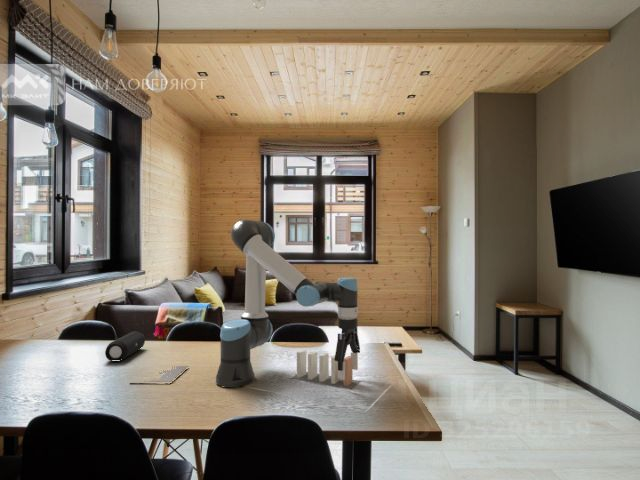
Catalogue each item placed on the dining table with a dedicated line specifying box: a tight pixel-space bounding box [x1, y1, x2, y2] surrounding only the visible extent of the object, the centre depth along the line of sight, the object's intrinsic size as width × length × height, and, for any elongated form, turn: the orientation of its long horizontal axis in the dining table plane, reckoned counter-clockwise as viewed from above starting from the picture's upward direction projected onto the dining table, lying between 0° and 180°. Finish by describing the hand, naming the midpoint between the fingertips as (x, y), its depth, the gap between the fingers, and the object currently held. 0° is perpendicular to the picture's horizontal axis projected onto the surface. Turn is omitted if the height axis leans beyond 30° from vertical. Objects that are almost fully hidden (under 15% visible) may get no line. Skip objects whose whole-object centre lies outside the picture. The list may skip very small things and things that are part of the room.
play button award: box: [144, 365, 189, 382], centre depth 160 cm, size 16×2×20 cm
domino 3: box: [318, 352, 330, 382], centre depth 154 cm, size 2×5×10 cm, turn 152°
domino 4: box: [330, 355, 340, 384], centre depth 151 cm, size 2×5×10 cm, turn 152°
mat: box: [290, 371, 362, 391], centre depth 153 cm, size 27×10×1 cm, turn 62°
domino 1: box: [296, 349, 307, 378], centre depth 159 cm, size 2×5×10 cm, turn 152°
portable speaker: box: [104, 330, 146, 361], centre depth 190 cm, size 26×10×10 cm, turn 4°
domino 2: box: [307, 350, 318, 380], centre depth 156 cm, size 2×5×10 cm, turn 152°
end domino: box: [344, 355, 354, 386], centre depth 149 cm, size 2×5×10 cm, turn 152°
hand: (348, 373), depth 149 cm, fingers open, 12 cm apart
